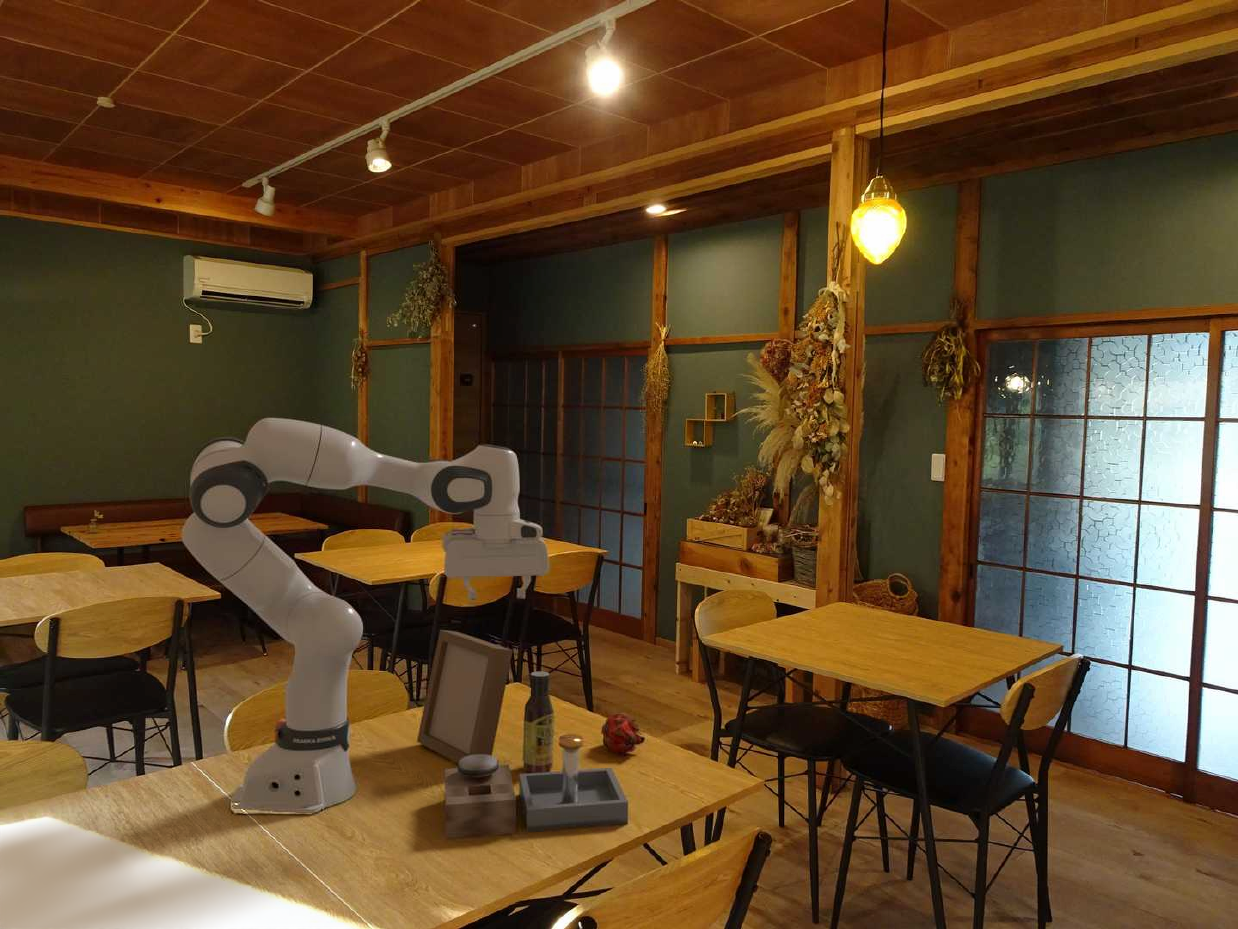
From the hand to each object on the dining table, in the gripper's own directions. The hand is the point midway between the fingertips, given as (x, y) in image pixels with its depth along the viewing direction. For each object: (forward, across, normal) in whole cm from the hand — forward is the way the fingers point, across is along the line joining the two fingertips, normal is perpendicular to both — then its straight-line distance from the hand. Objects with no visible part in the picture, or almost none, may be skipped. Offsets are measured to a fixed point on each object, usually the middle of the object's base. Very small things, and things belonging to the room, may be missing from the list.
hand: (496, 599), depth 176 cm
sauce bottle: (+37, +9, +7) cm, 39 cm away
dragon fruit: (+37, +28, +14) cm, 49 cm away
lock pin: (+36, +13, -13) cm, 40 cm away
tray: (+37, +13, -13) cm, 41 cm away
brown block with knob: (+37, -4, -13) cm, 39 cm away
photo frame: (+37, -4, +19) cm, 42 cm away
